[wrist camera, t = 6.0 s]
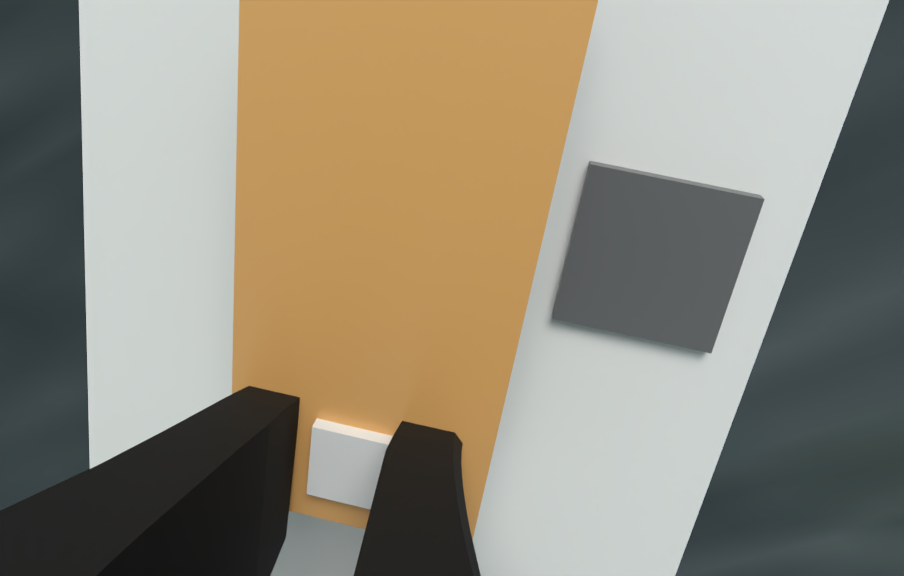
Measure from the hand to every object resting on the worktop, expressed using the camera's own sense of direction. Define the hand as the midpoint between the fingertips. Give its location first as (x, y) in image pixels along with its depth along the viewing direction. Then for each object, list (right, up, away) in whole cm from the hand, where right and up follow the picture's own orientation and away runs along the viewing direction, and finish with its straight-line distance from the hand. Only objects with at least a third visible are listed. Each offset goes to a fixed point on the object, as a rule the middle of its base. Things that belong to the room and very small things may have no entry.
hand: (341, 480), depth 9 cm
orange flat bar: (+1, +3, -1) cm, 3 cm away
